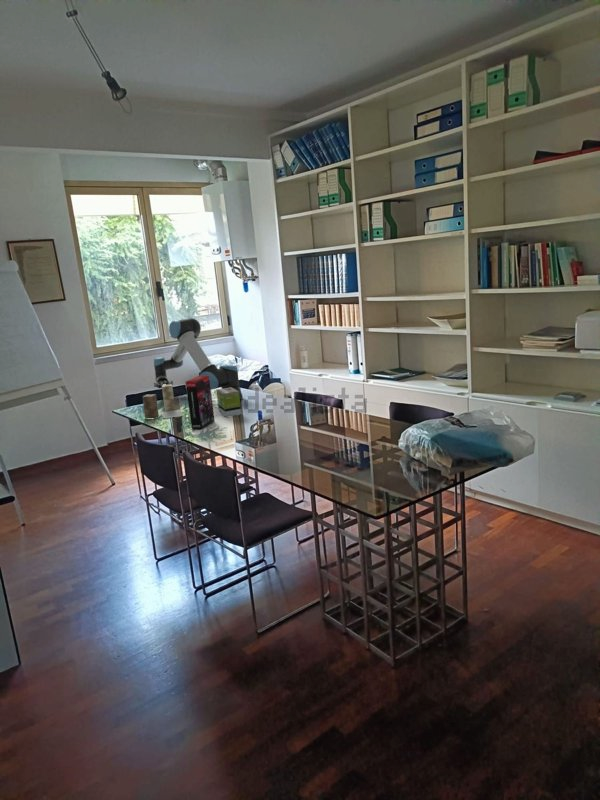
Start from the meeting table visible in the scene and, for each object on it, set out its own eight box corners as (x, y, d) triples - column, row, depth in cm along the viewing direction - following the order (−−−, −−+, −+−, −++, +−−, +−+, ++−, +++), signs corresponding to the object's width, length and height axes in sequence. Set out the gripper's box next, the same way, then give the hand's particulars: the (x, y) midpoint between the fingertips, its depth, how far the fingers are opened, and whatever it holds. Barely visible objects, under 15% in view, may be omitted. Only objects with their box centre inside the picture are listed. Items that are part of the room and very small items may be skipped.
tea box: (218, 412, 356) (215, 389, 352) (233, 410, 360) (231, 386, 356) (225, 417, 342) (223, 393, 339) (242, 414, 346) (239, 390, 343)
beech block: (174, 408, 375) (171, 384, 371) (175, 410, 369) (172, 385, 366) (164, 409, 373) (161, 385, 370) (165, 411, 368) (162, 386, 364)
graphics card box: (201, 430, 319) (196, 381, 313) (190, 429, 321) (184, 381, 315) (215, 421, 335) (210, 375, 329) (204, 421, 337) (199, 375, 331)
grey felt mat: (180, 410, 369) (180, 409, 369) (183, 416, 352) (183, 415, 352) (160, 412, 366) (160, 412, 366) (163, 419, 349) (163, 418, 349)
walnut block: (158, 416, 356) (156, 394, 353) (154, 419, 350) (151, 396, 347) (149, 416, 357) (146, 394, 354) (145, 419, 352) (142, 396, 349)
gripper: (172, 386, 407) (176, 392, 385) (153, 388, 403) (156, 394, 381) (171, 375, 405) (174, 381, 383) (152, 377, 401) (154, 383, 379)
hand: (165, 387), depth 382 cm, fingers closed
